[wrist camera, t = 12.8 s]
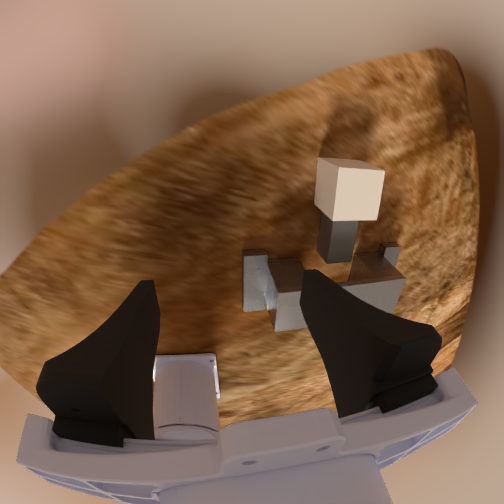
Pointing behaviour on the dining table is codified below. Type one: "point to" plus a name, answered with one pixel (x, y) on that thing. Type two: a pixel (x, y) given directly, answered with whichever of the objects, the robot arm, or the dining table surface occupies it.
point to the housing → (291, 277)
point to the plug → (345, 203)
